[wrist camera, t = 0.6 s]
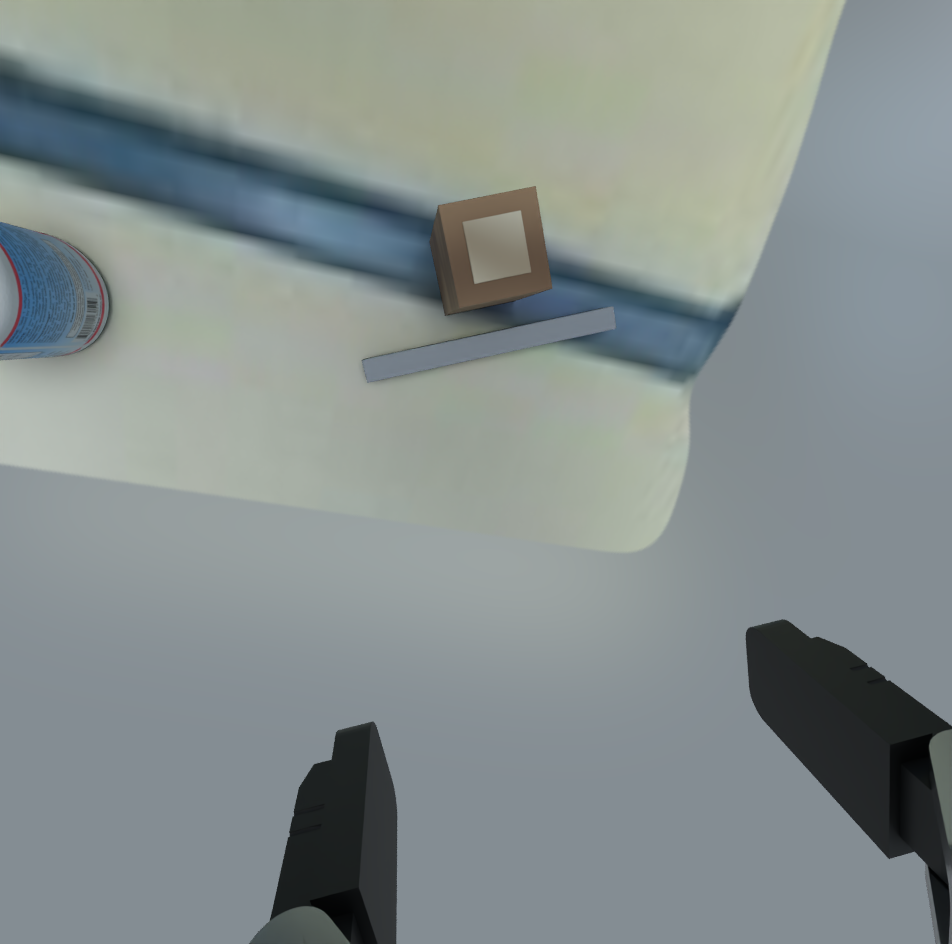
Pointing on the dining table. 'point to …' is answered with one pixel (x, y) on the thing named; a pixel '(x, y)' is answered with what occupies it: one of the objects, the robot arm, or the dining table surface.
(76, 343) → the pill bottle
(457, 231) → the walnut block
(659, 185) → the dining table surface
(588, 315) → the rail
